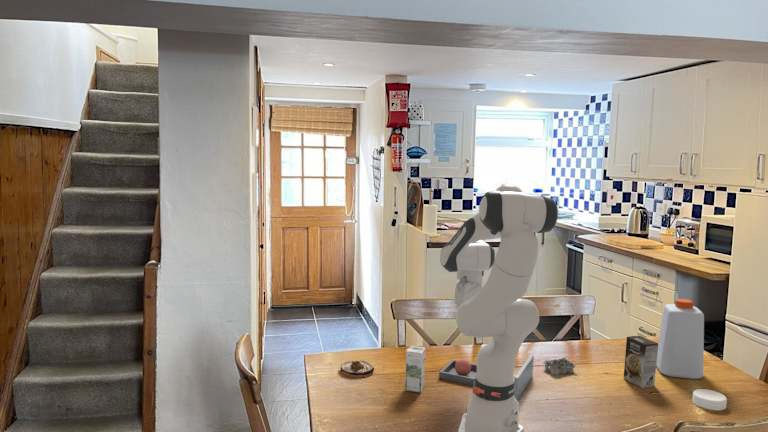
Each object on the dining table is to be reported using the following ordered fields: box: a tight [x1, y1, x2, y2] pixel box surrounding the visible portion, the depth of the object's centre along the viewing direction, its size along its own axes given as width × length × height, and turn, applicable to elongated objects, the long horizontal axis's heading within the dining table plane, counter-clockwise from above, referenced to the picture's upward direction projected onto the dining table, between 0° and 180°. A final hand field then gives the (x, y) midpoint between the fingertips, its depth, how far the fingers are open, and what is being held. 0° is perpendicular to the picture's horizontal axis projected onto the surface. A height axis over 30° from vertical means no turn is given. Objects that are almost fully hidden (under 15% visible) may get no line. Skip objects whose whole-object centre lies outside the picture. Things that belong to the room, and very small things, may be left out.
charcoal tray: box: [438, 359, 477, 387], centre depth 212 cm, size 14×14×2 cm
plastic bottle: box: [656, 298, 705, 380], centre depth 219 cm, size 15×15×28 cm
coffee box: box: [623, 335, 658, 389], centre depth 208 cm, size 9×6×16 cm
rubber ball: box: [455, 358, 471, 376], centre depth 211 cm, size 6×6×6 cm
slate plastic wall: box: [514, 354, 534, 401], centre depth 202 cm, size 24×1×8 cm, turn 153°
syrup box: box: [404, 345, 426, 394], centre depth 198 cm, size 6×6×14 cm
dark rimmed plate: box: [340, 360, 375, 378], centre depth 213 cm, size 15×15×4 cm
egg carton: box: [542, 357, 576, 376], centre depth 219 cm, size 11×8×4 cm
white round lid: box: [692, 388, 728, 411], centre depth 192 cm, size 10×10×4 cm
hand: (467, 311), depth 209 cm, fingers open, 8 cm apart
